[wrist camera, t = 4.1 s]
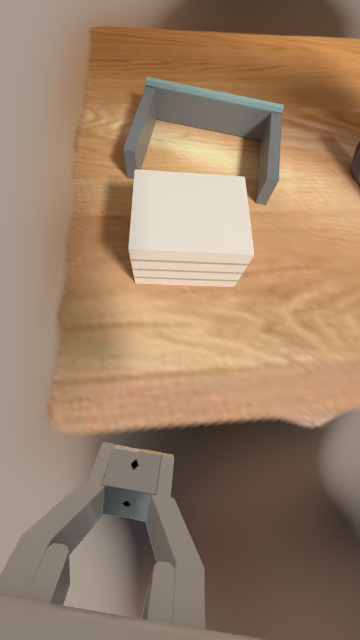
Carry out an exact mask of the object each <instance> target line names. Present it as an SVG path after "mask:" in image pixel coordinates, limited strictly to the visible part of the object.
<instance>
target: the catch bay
mask: <svg viewBox="0 0 360 640" xmlns="http://www.w3.org/2000/svg"><path fill="white" fill-rule="evenodd" d="M283 109H284V105H283V104H278V103H273V102H269V101H264V100H259V99H254V98H249V97H244V96H239V95H235V94H230V93H225V92H220V91H215V90H210V89H205V88H201V87H196V86H191V85H186V84H181V83H176V82H171V81H167V80H162V79H157V78H152V77H147V78H146V87H145V89H144V92H143V95H142V98H141V101H140V103H139V106H138V109H137V112H136V114H135V117H134V120H133V123H132V125H131V128H130V131H129V134H128V137H127V139H126V142H125V145H124V148H123V153H124V160H125V167H126V174H127V177H128V178H133V179H134V172H135V169H137V170H141V167H142V163H143V160H144V157H145V154H146V151H147V147H148V144H149V141H150V138H151V135H152V131H153V128H154V125H155V122H156V119H157V120H162V121H167V122H171V123H176V124H181V125H186V126H191V127H196V128H201V129H206V130H211V131H216V132H221V133H226V134H231V135H235V136H240V137H245V138H250V139H255V140H260V141H261V144H260V156H259V167H258V179H257V191H256V202H255V203H259V204H264V205H266V203H267V202H268V200H269V198H270V196H271V194H272V192H273V190H274V188H275V186H276V185H277V183H278V181H279V163H280V141H281V119H282V111H283Z"/></svg>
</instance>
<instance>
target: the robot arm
mask: <svg viewBox="0 0 360 640" xmlns="http://www.w3.org/2000/svg"><path fill="white" fill-rule="evenodd" d="M173 463H174V455H172V454H165V453H161V452H156V451H150V450H143V449H136V448H130V447H125V446H120V445H116V444H110V443H105V442H104V443H103V444H102V446H101V448H100V450H99V453H98V455H97V458H96V460H95V463H94V465H93V468H92V470H91V473H90V475H89V478H88V481H87V483H86V482H82V483H81V484H80V485H79V486H78V487H77V488H75V489H74V490H73V491H72V492H71V493H70V494H69V495H67V496H66V497H65V498H64V499H63V500H62V501H61V502H60V503H58V504H57V505H56V506H55V507H54V508H53V509H51V510H50V511H49V512H48V513H47V514H46V515H45V516H43V517H42V518H41V519H40V520H39V521H38V522H37V523H35V524H34V525H33V526H32V527H31V528H30V529H29V530H27V531H26V532H25V533H24V534H23V535H22V536H21V538H20V540H19V541H18V543H17V546H16V547H15V549H14V551H13V553H12V555H11V556H10V558H9V560H8V562H7V564H6V566H5V568H4V570H3V571H2V573H1V575H0V640H264V639H258V638H252V637H246V636H240V635H235V634H228V633H223V632H217V631H211V630H205V598H204V597H205V594H204V567H203V564H202V562H201V560H200V557H199V555H198V553H197V550H196V548H195V546H194V543H193V541H192V539H191V537H190V534H189V532H188V530H187V527H186V525H185V523H184V520H183V518H182V516H181V513H180V511H179V509H178V506H177V504H176V502H175V499H174V498H170V495H171V485H172V474H173ZM103 514H107V515H113V516H120V517H127V518H131V519H136V520H141V521H145V522H146V526H147V529H148V533H149V537H150V540H151V544H152V548H153V551H154V555H155V559H156V562H157V563H156V564H155V566H154V569H153V572H152V576H151V579H150V582H149V586H148V589H147V592H146V596H145V602H144V610H143V617H142V619H139V618H133V617H127V616H122V615H116V614H109V613H103V612H98V611H91V610H86V609H79V608H74V607H68V606H63V604H64V601H65V598H66V595H67V592H68V589H69V585H70V573H69V572H70V571H69V570H70V568H69V555H70V554H71V553H72V551H73V550H74V549H75V548H76V547H77V545H78V544H79V543H80V542H81V541H82V540H83V538H84V537H85V536H86V535H87V534H88V532H89V531H90V530H91V529H92V528H93V527H94V525H95V524H96V523H97V522H98V521H99V519H100V518H101V517H102V516H103Z"/></svg>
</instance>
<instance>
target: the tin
mask: <svg viewBox="0 0 360 640" xmlns="http://www.w3.org/2000/svg"><path fill="white" fill-rule="evenodd" d="M352 174H353V177H354V179H355V181H356V182H357V184H358V185H359V186H360V142H359V144H358V146H357V148H356V150H355V153H354V156H353V160H352Z"/></svg>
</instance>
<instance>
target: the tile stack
mask: <svg viewBox="0 0 360 640" xmlns="http://www.w3.org/2000/svg"><path fill="white" fill-rule="evenodd" d="M128 250H129V255H130V261H131V264H132V270H133V274H134V276H133V277H134V279H135V283H140V284H169V285H198V286H227V287H234V286H235V284H236V283H237V282H238V281H239V278H240V276H241V275H242V274H243V273H244V270H245V269H246V267H247V266H248V265H249V262H250V261H251V259H252V257H253V256H254V249H253V241H252V232H251V224H250V215H249V207H248V198H247V190H246V182H245V177H241V176H226V175H211V174H196V173H182V172H167V171H152V170H137V169H135V172H134V184H133V197H132V210H131V222H130V235H129V247H128Z"/></svg>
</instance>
